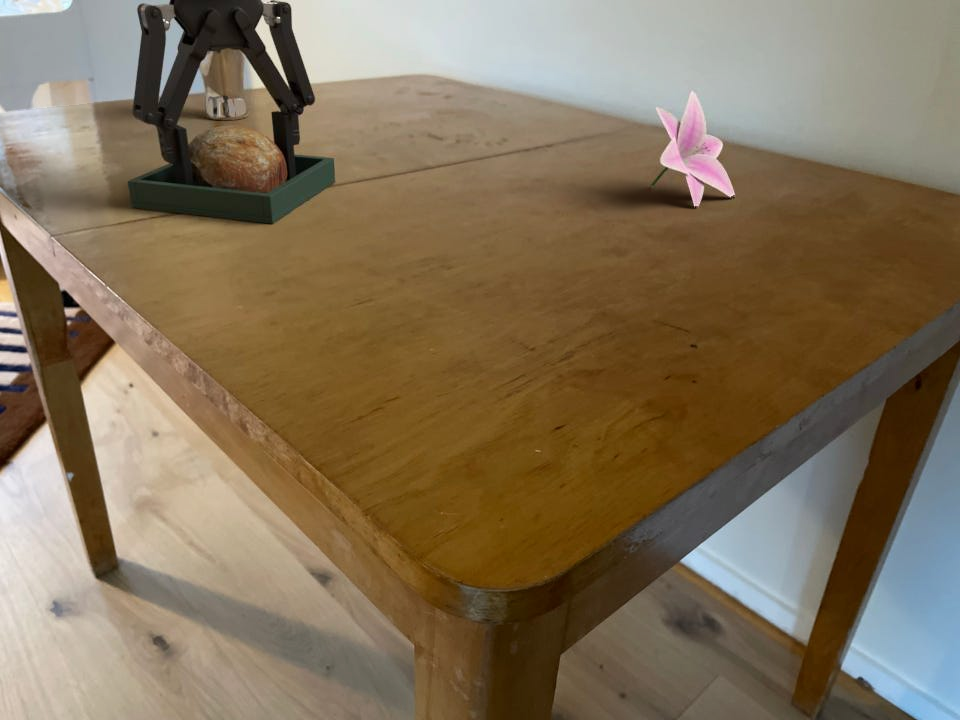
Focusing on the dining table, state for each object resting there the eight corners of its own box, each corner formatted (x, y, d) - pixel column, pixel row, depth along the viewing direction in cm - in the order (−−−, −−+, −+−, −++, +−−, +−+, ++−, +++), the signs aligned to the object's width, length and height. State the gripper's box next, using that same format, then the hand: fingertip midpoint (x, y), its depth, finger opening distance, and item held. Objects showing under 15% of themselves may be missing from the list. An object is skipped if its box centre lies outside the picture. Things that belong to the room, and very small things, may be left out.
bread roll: (182, 223, 79) (146, 160, 73) (234, 159, 85) (204, 95, 79) (264, 238, 76) (233, 174, 70) (312, 171, 82) (288, 106, 76)
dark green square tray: (131, 207, 74) (126, 181, 73) (212, 169, 87) (209, 145, 86) (272, 224, 71) (270, 196, 70) (335, 182, 84) (334, 157, 83)
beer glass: (231, 109, 115) (218, -3, 108) (262, 116, 112) (251, 1, 105) (191, 116, 110) (175, -1, 103) (223, 123, 107) (208, 3, 100)
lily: (632, 219, 79) (691, 144, 73) (598, 148, 86) (648, 74, 80) (718, 243, 85) (780, 175, 78) (679, 174, 92) (733, 106, 85)
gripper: (87, -68, 59) (139, 216, 70) (343, -60, 72) (354, 176, 83) (56, -70, 64) (109, 195, 74) (302, -63, 77) (317, 161, 88)
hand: (238, 185), depth 79 cm, fingers closed on bread roll, 10 cm apart
